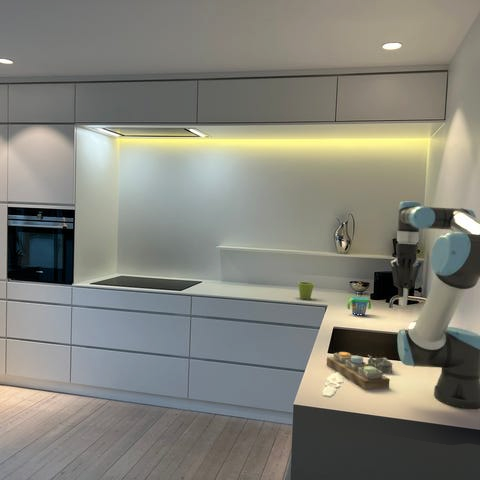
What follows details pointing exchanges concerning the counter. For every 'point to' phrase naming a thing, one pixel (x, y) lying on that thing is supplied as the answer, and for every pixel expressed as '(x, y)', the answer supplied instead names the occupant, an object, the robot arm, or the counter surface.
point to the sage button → (370, 369)
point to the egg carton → (380, 364)
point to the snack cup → (359, 305)
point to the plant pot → (305, 290)
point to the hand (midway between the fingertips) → (402, 305)
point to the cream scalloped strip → (331, 390)
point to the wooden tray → (358, 373)
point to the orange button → (344, 354)
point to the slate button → (356, 360)
